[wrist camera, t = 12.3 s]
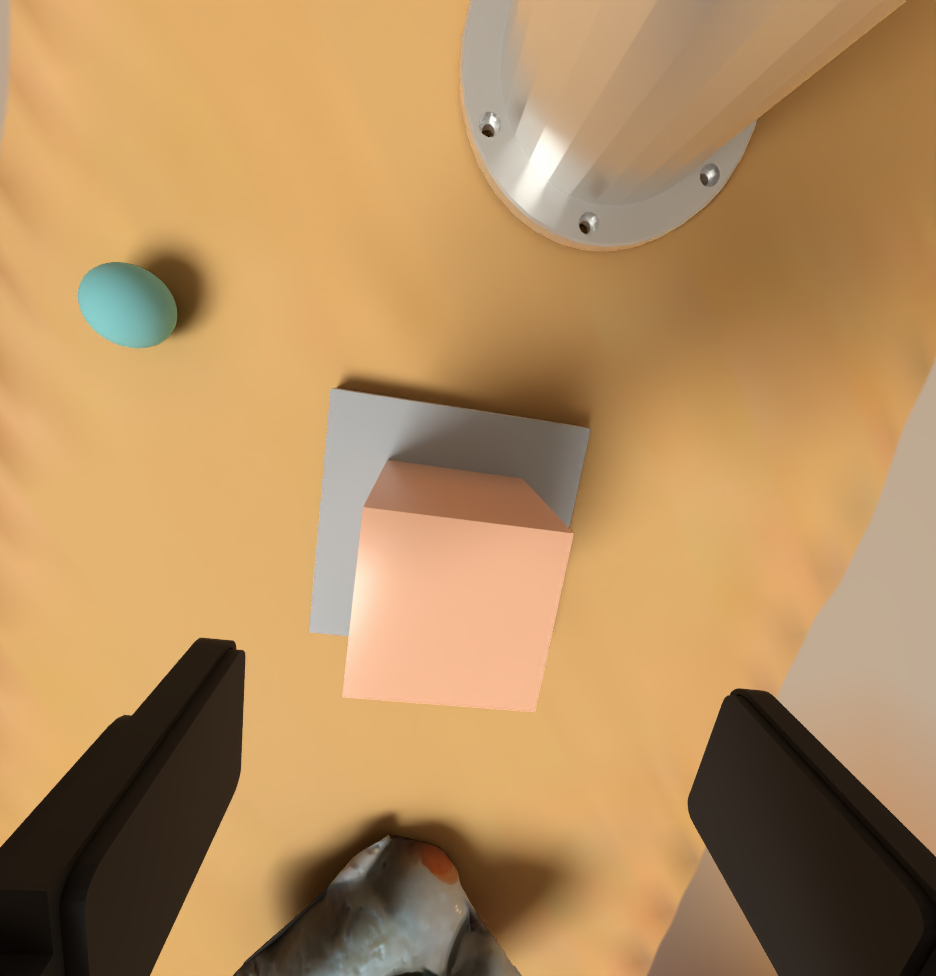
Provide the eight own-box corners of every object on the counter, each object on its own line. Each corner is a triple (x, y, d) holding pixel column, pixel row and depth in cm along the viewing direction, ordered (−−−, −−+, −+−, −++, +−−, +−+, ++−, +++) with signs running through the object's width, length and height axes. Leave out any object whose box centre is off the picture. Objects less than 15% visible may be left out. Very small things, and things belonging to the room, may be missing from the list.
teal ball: (113, 265, 19) (53, 244, 16) (193, 280, 20) (149, 261, 17) (114, 344, 20) (57, 337, 17) (191, 356, 20) (149, 351, 17)
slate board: (336, 387, 21) (330, 388, 20) (582, 426, 23) (590, 428, 21) (314, 620, 24) (308, 632, 23) (536, 641, 25) (542, 654, 24)
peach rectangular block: (387, 459, 21) (363, 506, 13) (522, 478, 22) (574, 533, 14) (372, 587, 22) (342, 697, 15) (499, 600, 23) (534, 712, 15)
